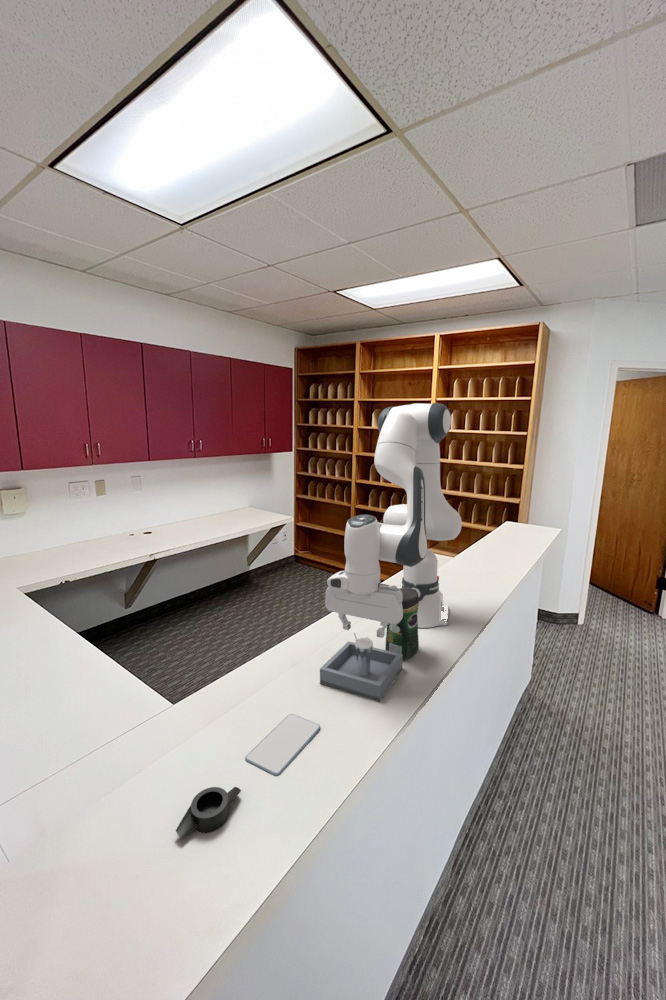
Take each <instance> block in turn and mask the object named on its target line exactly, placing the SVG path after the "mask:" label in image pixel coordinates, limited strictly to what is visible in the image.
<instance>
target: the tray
mask: <svg viewBox="0 0 666 1000" xmlns="http://www.w3.org/2000/svg"><path fill="white" fill-rule="evenodd" d="M403 661H404V660H403V654H399V653H395V652H390V651H386V650H385V649H381V648H377V647H374V646H373V649H372V660H371V673H370V675H368V676H361V675H359V674H358V671H357V658H356V647H355V642H352V641H347V642H346V643H345V644H344V645H343V646H342V647H341V648H339V650H337V652H336V653H334V654H333V655H332V656H331V657H330V658H329V659H328V660H327V661H326V662H325V663H324V664H323V665H322V666H321V667H320V668H319V684H320V685H323V686H326V687H330V688H333V689H336V690H339V691H342V692H346V693H349V694H352V695H355V696H359V697H363V698H366V699H369V700H372V701H375V702H378V703H380V702H381V701H382V699H383V698H384V696H386V694H387V692H388V691H389V689H390V688H391V687H392V685H393V684H394V682H395V680H396V679H397V677H398V676H399V675H400V673H401V671H402V670H403Z"/></svg>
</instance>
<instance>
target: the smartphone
mask: <svg viewBox="0 0 666 1000" xmlns="http://www.w3.org/2000/svg"><path fill="white" fill-rule="evenodd" d="M320 731H321V725H320V724H319V723H317V722H313V721H311V720H309V719H306V718H304V717H301V716H299V715H296V714H294V713H290V714H289V715H287V716H286V717H285V718H284V719H283V720H281V722H280V723H279V724H278V725H277V726H276V727H275V728H273V730H271V731H270V733H268V734H267V735H266V736H265V737H264V738H263V739H262V740H261V741H260V742H259V743H258V744H257V745H256V746H255V747H253V749H252V750H251V751H250V752H248V753H247V755H246V756H245V757H244V760H245V762H246V763H248V764H250V765H253V766H255V767H256V768H259V769H261V770H263V771H265V772H266V773H269V775H272V776H273V777H279V776H280V775H281V774H282V773H283V772H284V771H285V770H286V768H288V766H289V765H290V764H292V762H293V761H294V760H295V759H296V758H297V756H299V755H300V753H301V752H302V751H303V750H304V749H305V747H306V746H307V745H308V744H309V743H310V742H311V741H312V740H313V738H315V736H316V735H317V734H319V732H320Z"/></svg>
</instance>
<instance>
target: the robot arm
mask: <svg viewBox="0 0 666 1000" xmlns="http://www.w3.org/2000/svg"><path fill="white" fill-rule="evenodd" d="M451 424H452V417H451V412H450V409H449V408H448V407H447V405H445V404H442V403H438V402H433V403H420V402H419V403H411V404H404V405H398V406H394V405H392V406H389V407H385V408H384V409H383V410H382V411H381V412H380V413H379V416H378V417H377V430H378V433H379V436H378V439H377V443H376V447H375V451H374V457H373V458H374V460H373V461H374V467H375V469H376V471H377V472H378V474H379V475H380V477H382V478H384V479H385V480H386V481H388V482H390V483H392V484H394V485H396V486H398V487H399V488H400V487H401V488H402V489H404V491H405V493H406V503H405V504H404V503H401V504H393V505H390V506H389V507H388V508H386V510H385V512H384V514H383V517H382V518H383V519H382V521H383V522H379V521H378V520H377V518H376V516H374V515H372V514H358V515H354V516H352V517H350V518H349V519H348V520H347V522H346V524H345V525H346V526H345V531H344V542H343V543H344V546H343V547H344V548H343V549H344V556H345V565H344V566H345V567H344V570H340V571H338V572H335V573H334V574H332V575H331V576H330V577H329V578H328V579H326V580H327V581H326V584H327V586H328V587H327V588H326V590H325V598H324V599H325V600H324V602H325V605H324V606H325V608H326V610H327V611H328V612H333V613H337V614H338V618H339V620H340V622H341V624H342V629H343V630H345V631H349V630H350V629H351V626H352V625H351V621H350V620H348V617H347V616H352V617H355V618H356V617H357V618H361V619H365V620H370V621H376V622H380V626H382V627H379V628H377V630H376V637H377V638H381V639H382V638H384V637H385V635H386V634H385V633H386V632H385V631H386V629H387V625H388V624H394V625H396V624H398V623H399V622H400V621H401V620H402V618H403V608H402V601H403V593H402V591H401V590H400V588H399V587H398V586H397V585H393V584H391V585H390V584H386V583H382V582H381V566H380V561H381V562H382V561H383V562H389V563H393V564H394V563H396V564H398V565H402V566H403V568H402V570H403V571H402V572H403V573H402V574H403V577H401V578H402V579H401V588H403V587H408V588H411V589H415V590H416V591H417V593H418V597H419V606H418V615H417V618H418V629H419V628H423V629H426V628H427V629H428V628H433V627H438V626H448V624H449V621H448V622H447V621H444V620H446V619H442V620H441V611H443V612H444V607H442V606H443V605H444V604H445V603H444V602H443V601H444V600H443V599H444V597H443V592H441V591H440V583H439V581H440V576H439V575H438V564H439V563H438V557H437V555H436V554H435V552H433V551H432V550H431V549H429V548H428V540H429V541H430V540H431V541H438V542H440V541H441V542H442V541H451V540H453V541H454V540H455V539H456V538H457V537H458V536H459V535H460V533H461V530H462V527H463V522H462V521H463V520H462V517H461V516H460V513H459V512H458V511H457V510H456V509H455V508H453V506H451V504H449V502H448V501H447V500H446V497H445V496H444V493H443V491H442V485H441V450H440V443H441V441H442V439H445V437H446V436H447V435H448V434H449V432H450V430H451V426H452V425H451ZM379 560H380V561H379ZM445 611H446V610H445ZM449 611H450V609H449V610H448V616H449V613H450V612H449ZM346 615H347V616H346ZM445 622H446V623H445Z"/></svg>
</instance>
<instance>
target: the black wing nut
mask: <svg viewBox="0 0 666 1000" xmlns="http://www.w3.org/2000/svg"><path fill="white" fill-rule="evenodd" d="M241 792H242V790H241V788H240V787H237V786H234V787H233V788H232V789H230V790H229V791H228V792H227V791H226V790H225V789H224V788H222V787H218V786H212V787H207V788H204V789H203V790H201V791H199V792H198V793H197V794H196V795H195V796H194V797H193V799H192V800H191V803H190V806H189V807H188V809H187V810H186V811H185V814H184V816H183V817H182V819H181V821H180V822H179V824H178V826H177V827H176V829H175V832H176V834H177V836H178V837H179V838H180V839H181V840H182V841H183V840H184V839H185V838H186V837H187V836H188V835H189V834H191V832H193V831H194V830H195V832H197V833H200V834H210V833H213V832H216V831H218V830H219V829H221V828H222V827H223V826H224V825H225V824H226V822H227V821H228V819H229V815H230V808H229V807H230V806H229V805H230V804H229V803H230V802H232V801H234V800H235V799H236V798H237V797H238V796H239V794H241Z"/></svg>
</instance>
